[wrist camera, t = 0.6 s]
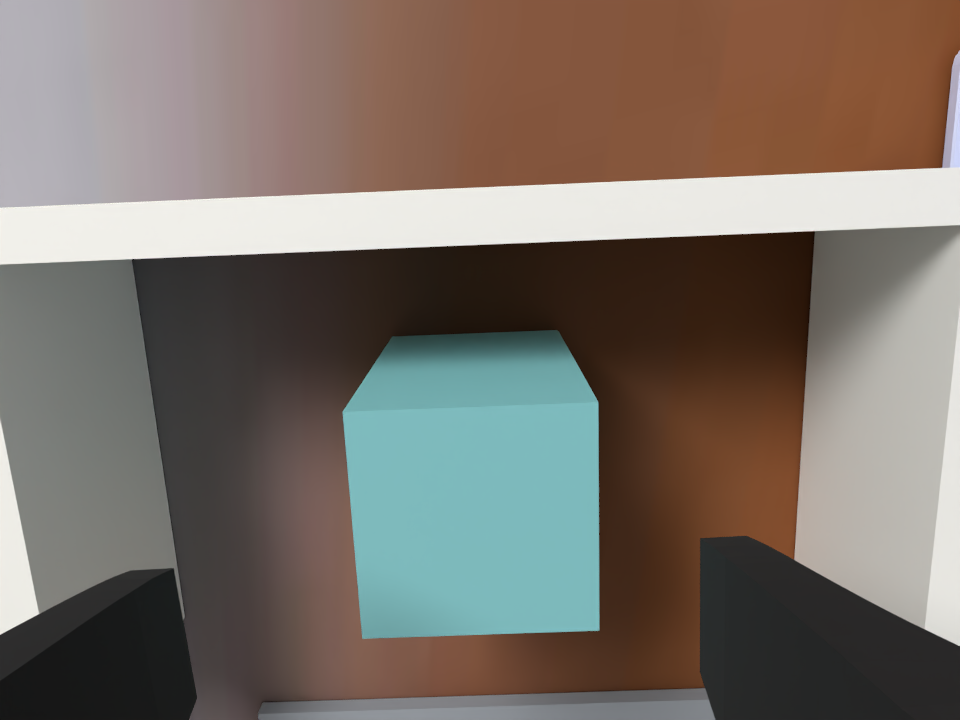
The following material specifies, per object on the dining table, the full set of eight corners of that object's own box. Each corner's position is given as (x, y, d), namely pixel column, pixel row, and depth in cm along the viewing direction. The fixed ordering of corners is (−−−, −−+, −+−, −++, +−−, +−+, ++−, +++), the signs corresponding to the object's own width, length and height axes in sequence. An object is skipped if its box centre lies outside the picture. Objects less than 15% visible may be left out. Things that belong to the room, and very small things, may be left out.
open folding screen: (857, 174, 18) (1032, 164, 12) (826, 595, 21) (958, 749, 15) (86, 207, 19) (-97, 211, 13) (151, 618, 21) (25, 778, 15)
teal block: (557, 329, 19) (598, 402, 12) (560, 484, 20) (599, 630, 13) (392, 336, 19) (342, 411, 13) (403, 490, 20) (362, 638, 14)
